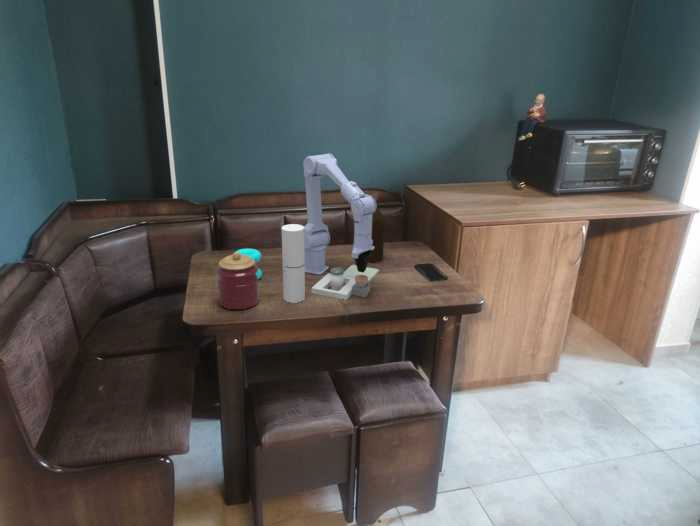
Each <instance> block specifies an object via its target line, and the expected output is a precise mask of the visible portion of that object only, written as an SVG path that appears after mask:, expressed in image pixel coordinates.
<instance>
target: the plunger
mask: <svg viewBox="0 0 700 526" xmlns="http://www.w3.org/2000/svg"><path fill="white" fill-rule="evenodd" d="M355 281H356V286H355V287H359V288H365V287H366V286H367V281H368V277H367V276H365V275H357V276H355Z"/></svg>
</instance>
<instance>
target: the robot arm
mask: <svg viewBox="0 0 700 526" xmlns="http://www.w3.org/2000/svg"><path fill="white" fill-rule="evenodd" d="M302 163H303V177H304V179H305V181H304V182H305V184H304V185H305V194H306V196H305V198H306V212H307V213H306V214H307V223H306V224H305V225H304V259H305V263H304V264H305V273H307V274H314V275H318V276H320V275H321V276H322V274H324V273H325V272H326V271H328V269H330V266H327V265H326V248H327V247H328V245H329V243H330V242H331V235H330V232H329V226H328V225H327V224H325V223H324V222H323V212H322V211H323V209H322V206H323V205H322V191H321V180H322V179H323V178H324V177H325V176H328V177H329V178H330V179H331V180H332V181H333V182H334V183H335V184H336V185H337V186H338V187H339V188H340V193H341V195H342V197H344V199H345V200H346V201H347V202H348V204H350V210H351V212H352V216H353V217H352V218H353V221H354V229H353V233H354V234H353V245H352V247H353V248H352V252H351V259H352V258H353V260H354V262H355V265H357V270H358V272H364V271H365V270H366V267H368V260H369V257H370V255H371V253H372V250H373V249H374V246H372V244H373V239H371V237H372V213H374V212H375V211H376V208H378V203H377V204H376V201H375V199H374V198H373V197H374V196H372V195H368V194H365V193H364V191H363V190H362V189H361V188H360V187H359V186H358V185H357V182H355V181H351V180H350V181H349V180H348V178H347V177H346V175H345V174H344V173H343V171H342V169H340V167H339V166H338V160H337V158H335V156H334V155H333V154H332V153H329V152H328V153H324V154H317V155H307V156H306V157H305V159H304V160H303V161H302Z"/></svg>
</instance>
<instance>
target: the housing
mask: <svg viewBox="0 0 700 526" xmlns="http://www.w3.org/2000/svg"><path fill="white" fill-rule="evenodd" d="M344 284H345V285H344ZM355 286H356V281H355V278H351V277H346V276H344V281H343V287H342V288H341V289H340V290H339V291H335V290H331V289H329V288H331V273H329V272H327V274H325V275H324V276H323V277H322V278H321V279H319V281H317V283H315V284H314V285H313V286H312V287H311V289H310V290H311V294H313V295H317V296H323V295H324V297H328V298H329V297H330V298H334V299H339V300H343V299H344V300H343V301H347V300H349V298H351V296H354V295H356V296H355V297H359V296H361V298H364V297H365V298H367V296H368V295H369V294H370V293H371V283H367V286H366V287H365V288H359V287H355ZM369 292H370V293H369ZM368 293H369V294H368Z"/></svg>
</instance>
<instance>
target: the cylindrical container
mask: <svg viewBox="0 0 700 526" xmlns="http://www.w3.org/2000/svg"><path fill="white" fill-rule="evenodd" d="M304 226H305V225H304ZM304 226H303V225H302V224H296V223H290V224H284V225H282V226H281V245H282V246H281V251H282V252H281V253H282V256H281V257H282V259H281V260H282V287H283V301H284V300H285V301H284V302H286V301H287V302H286V303H288V302H290V303H289V304H297V303H298V302H299V303H302V302H304V301H305V299H306V287H305V286H306V283H305V281H306V279H305V278H306V277H305V274H306V272H305V264H304V263H305V259H304ZM303 300H304V301H303ZM301 301H302V302H301Z"/></svg>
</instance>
